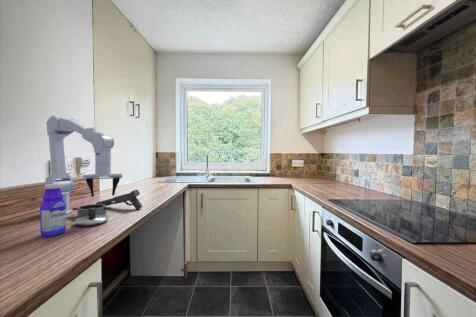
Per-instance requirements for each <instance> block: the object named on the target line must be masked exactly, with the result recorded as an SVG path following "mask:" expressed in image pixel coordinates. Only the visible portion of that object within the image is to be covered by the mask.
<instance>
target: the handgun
mask: <svg viewBox="0 0 476 317" xmlns="http://www.w3.org/2000/svg"><path fill="white" fill-rule="evenodd" d="M140 194H141V193H140V191H139V190H138V189H134V190H132V191H130V192H129V193H128V192H127V193H125V194H121V195H118V196H113V197H112V198H107V199H105V200H104V199H103V200H102V201H98V202H95V204H103V205H106V207H109V206H112V205H116V204H117V205H118V204H121V203H124V204H126V205H127V206H129V207H130V206H133V207H134V208H135V210H136V211H138V210H140V209H142V208H143V207H144V206H143V205H142V203H141V202H140V200H139V199H138V196H139V195H140ZM129 202H130V203H129Z"/></svg>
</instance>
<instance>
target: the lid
mask: <svg viewBox="0 0 476 317" xmlns="http://www.w3.org/2000/svg"><path fill="white" fill-rule="evenodd" d="M108 220H109V216H108V215H107V214H106V215H96V208H89V209H88V216H84V217H80V218H78V217H77V218H75V219H74V225H77V226H78V225H79V226H83V227H92V226H98V225H101V224H104V223H105V222H108Z"/></svg>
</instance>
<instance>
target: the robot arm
mask: <svg viewBox="0 0 476 317" xmlns="http://www.w3.org/2000/svg"><path fill="white" fill-rule="evenodd" d="M74 132H75V133H78V134H80V135H81V138H82V139H83V140H84V141H86V142H88V143H90V144H91V145H92V148H93V153H95V161H94V162H95V166H94V167H95V170H94V172H95V173H93V174H91V173H90V174H82V180H84V181H86V184H87V186H88V187H89V190H90V194H91V198H94V196H95V195H94V194H95V193H94V180H106V179H107V180H108V179H110V180H111V179H112V190H111V194H112V196H113V197H115V194H116V191H117V187H118V184H119V182H120V180H121V179H123V173H112V163H111V162H112V153H111V152H112V148H114V146H115V140H114V138H113V137H112V136H111V135H104V133H103V132H99V131H98V130H97V129H96V128H95V127H86V126H84V125H83V124H81V123H80V122H78V119H77V120H76V119H74V118H67V117H61V116H60V117H59V116H56V115H51V116H50V117H49V118H48V119H47V121H46V133H47V135H48V144H49V156H50V157H49V158H50V169H51V173H50V174H49V175H48V176H46V178H45V182H44V186H43V188H44V191H45V185H47V184H60V190H61V193H62V195H63V198H62V199H63V200H64V202H65V204H66V215H67V214H70V213H72V212H74V210H72V209H71V210H70V194H71V192H72V191H73V189H74V185H75V184H74V182H73V180H72V179H73V178H72V176H71V175H70V174H69V173H67V168H66V157H65V145H64V139H65V138H66V137H69V135H71V134H72V133H74ZM42 202H43V199H42ZM42 202H41V203H42Z"/></svg>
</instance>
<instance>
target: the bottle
mask: <svg viewBox="0 0 476 317" xmlns="http://www.w3.org/2000/svg"><path fill="white" fill-rule="evenodd" d="M44 186H45V190H44V194H43V196H42V197H41V198H42V200H43V202H41V204H40V206H39V219H40V221H39V222H40V223H39V226H40V227H39V228H40V231H39V232H40V235H41V236H42V237H47V238H50V237H54V236H55V237H56V236H58V235H61V234H63V233H65V232H66V230H67V217H66V216H67V214H66V204H65V202H64V200H63V199H62V198H63V195H62V193H61V190H60V184H47V185H45V184H44Z"/></svg>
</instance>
